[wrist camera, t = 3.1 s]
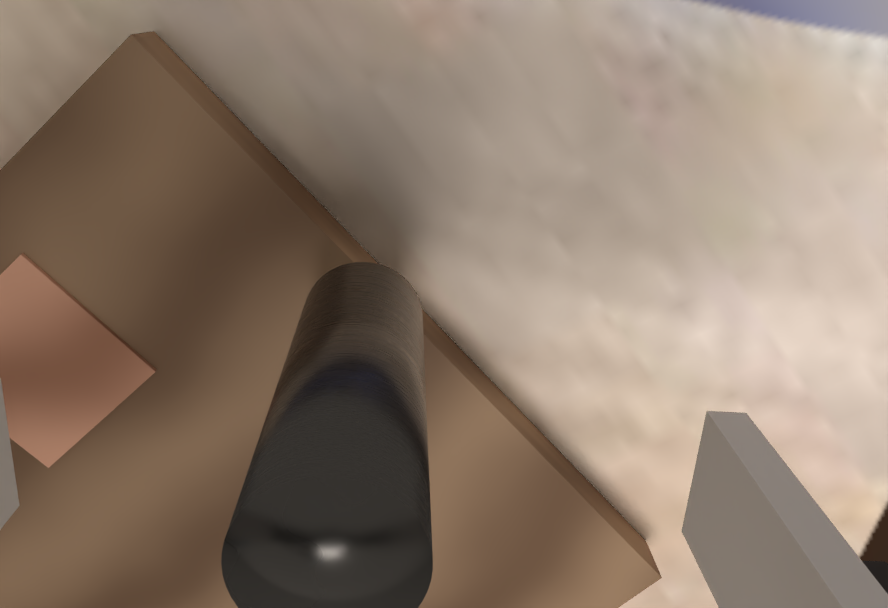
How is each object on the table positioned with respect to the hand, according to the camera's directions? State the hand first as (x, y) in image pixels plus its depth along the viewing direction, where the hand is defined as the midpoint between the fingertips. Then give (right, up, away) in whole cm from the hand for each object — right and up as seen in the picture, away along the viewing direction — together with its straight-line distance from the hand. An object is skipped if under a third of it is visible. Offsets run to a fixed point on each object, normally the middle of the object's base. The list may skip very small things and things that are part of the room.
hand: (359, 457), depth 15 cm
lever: (-1, -5, +12) cm, 13 cm away
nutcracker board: (-6, -4, +13) cm, 15 cm away
